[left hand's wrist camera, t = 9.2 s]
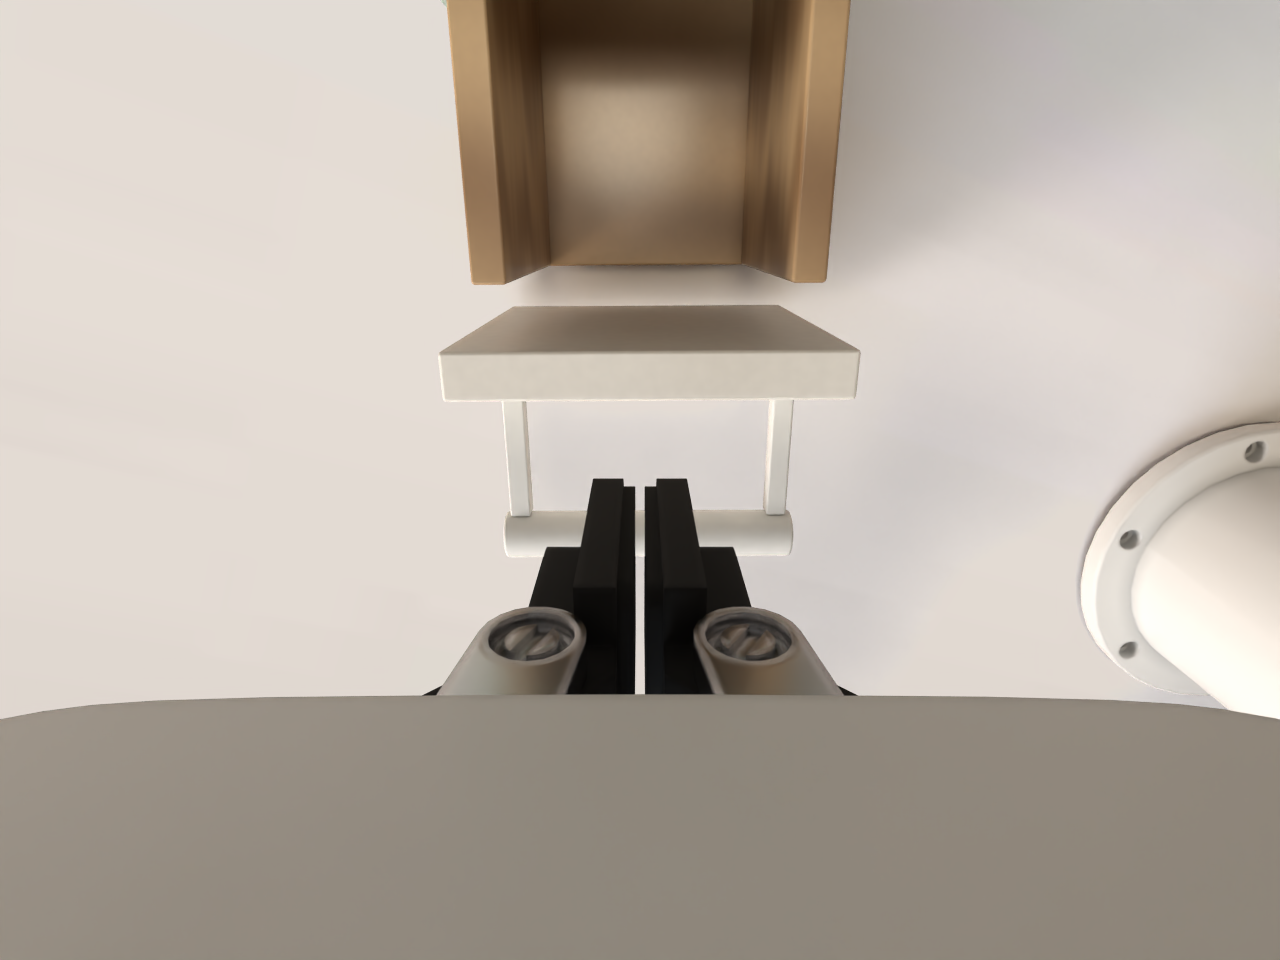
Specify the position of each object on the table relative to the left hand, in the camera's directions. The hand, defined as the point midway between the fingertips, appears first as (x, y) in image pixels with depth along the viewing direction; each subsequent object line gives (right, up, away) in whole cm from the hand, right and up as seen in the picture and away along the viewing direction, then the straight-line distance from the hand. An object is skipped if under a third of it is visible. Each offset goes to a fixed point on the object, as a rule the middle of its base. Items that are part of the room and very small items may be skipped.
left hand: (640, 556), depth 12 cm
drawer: (0, +11, +11) cm, 16 cm away
